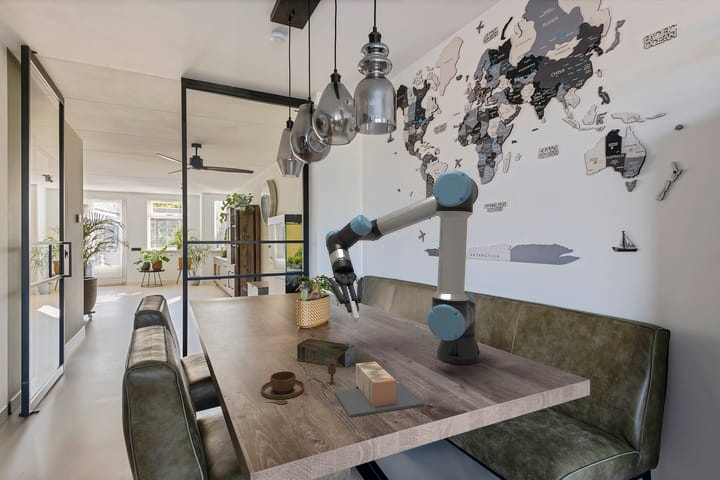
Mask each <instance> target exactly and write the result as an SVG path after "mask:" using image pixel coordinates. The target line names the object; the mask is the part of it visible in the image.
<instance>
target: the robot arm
mask: <svg viewBox="0 0 720 480" xmlns="http://www.w3.org/2000/svg"><path fill="white" fill-rule="evenodd" d="M432 193H433V195H430V196H428V197H426V198H425V197H424V198H423V199H420V200H418V201H416V202H414V203H411V204H409V205H406V206H404V207H401V208H398V209H396V210H393V211H392V212H389V213H387V214H385V215H382V216H379V217H377V218H374V219H373V220H369V219H368V217H366V216H364V215H363V214H357V216H355V217H354V218H352V219H351V220H350V221H349V222H348V223H347V224H346V225H345V226H343V227H342V228H341V229H340V230H339V229H333V230H330V231H329V232H328V233H326V235H325V245H326V246H325V247H326V248H327V252H328V253H327V254H328V255H329V262H330V265H331V271H332V274H333V277H332V278H329V279H328V282H327V285H328V286H329V287H330V288H331V289H332V291H333V294H334V295H335V297H336V299H337V302H339V304H340V305H344V307H345V309H346V311H347V313H348V314H350V316H351V317H350V318H351V321H352V323H358V321H359V319H360V315H359V312H360V305H359V304H361V302H362V300H363V281H364V277H363V276H361V277H358V275H357V274H356V273H355V270H354V266H353V262H352V259H351V255H350V253H349V249H350V248H352V247H353V246H354V245H355V244H357V243H358V242H359V241H361V242H362V241H363V242H364V241H367V242H368V241H369V242H375V241H378V240H380V239H381V238H382V237H384V236H386V235H391V234H392V233H394V232H395V233H396V232H398V231H400V230H403V229H406V228H409V227H411V226H413V225H416V224H419V223H422V222H424V221H426V220H429V219H432V218H434V217H436V216H438V217H439V219H440V221H439V238H438V239H439V241H438V243H439V244H438V261H437V264H438V265H437V266H438V267H437V289H436V291H435V292H434V293H433V294H432V295H431V296H432V297H431V298H432V299H431V309H430V310H429V312H428V315H427V319H426V321H427V326H428V329H429V330H430V332H431V333H432V334H433V335H434V336H435V337H436V338H437V339H439V343H438V347H437V349H436V357H437V358H438V359H439V360H440V361H442V362H445V363H449V364H451V365H461V366H462V365H468V366H469V365H474V364H475V365H476V364H478V363H480V362H481V360H482V359H481V358H482V357H481V351H480V348H479V344H478V342H477V339H476V323H477V322H476V316H477V315H476V314H477V313H476V310H477V309H476V308H477V303H476V302H477V301H476V297H475V296H474V295H472V294H466V293H465V285H466V283H465V282H466V280H465V279H466V260H467V259H466V258H467V241H468V240H467V238H468V237H467V236H468V219H469V218H470V217H471V216H472V215H473V214H474V204H475V203H476V201H477V200H478V197H479V193H480V192H479V186H478V184H477V182H476V181H475V180H474V179H473V178H471V177H470V176H469V175H468V174H467V173H466V172H464V171H460V170H456V169H451V170H446V171H444V172H443V173H441V174H440V175H438V177H437V178H436V180H435V181H434V182H433V186H432ZM355 282H356V283H355ZM354 283H355V284H356V286H357V287H356V290H355V286H354ZM339 286H340V288H339Z"/></svg>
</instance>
